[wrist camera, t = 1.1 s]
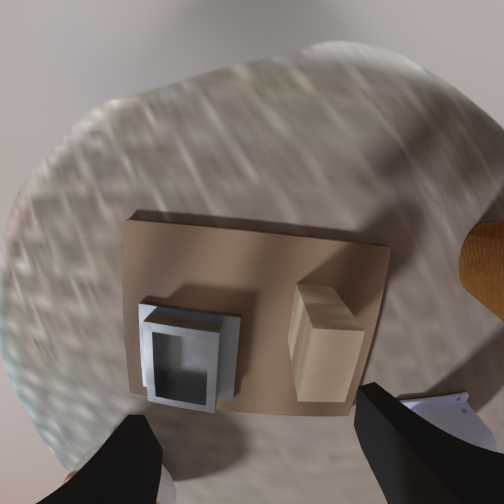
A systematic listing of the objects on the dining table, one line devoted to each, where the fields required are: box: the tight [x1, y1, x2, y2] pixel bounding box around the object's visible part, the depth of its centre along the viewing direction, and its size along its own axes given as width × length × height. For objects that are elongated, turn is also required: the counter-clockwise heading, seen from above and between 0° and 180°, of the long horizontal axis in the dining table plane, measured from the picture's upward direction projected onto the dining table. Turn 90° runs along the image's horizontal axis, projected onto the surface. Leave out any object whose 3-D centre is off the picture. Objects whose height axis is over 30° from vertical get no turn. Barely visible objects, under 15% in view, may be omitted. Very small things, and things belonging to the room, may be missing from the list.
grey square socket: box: [139, 301, 241, 413], centre depth 19 cm, size 7×7×3 cm
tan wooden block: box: [288, 283, 365, 402], centre depth 16 cm, size 2×4×7 cm, turn 174°
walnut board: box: [122, 219, 391, 416], centre depth 20 cm, size 18×14×1 cm
